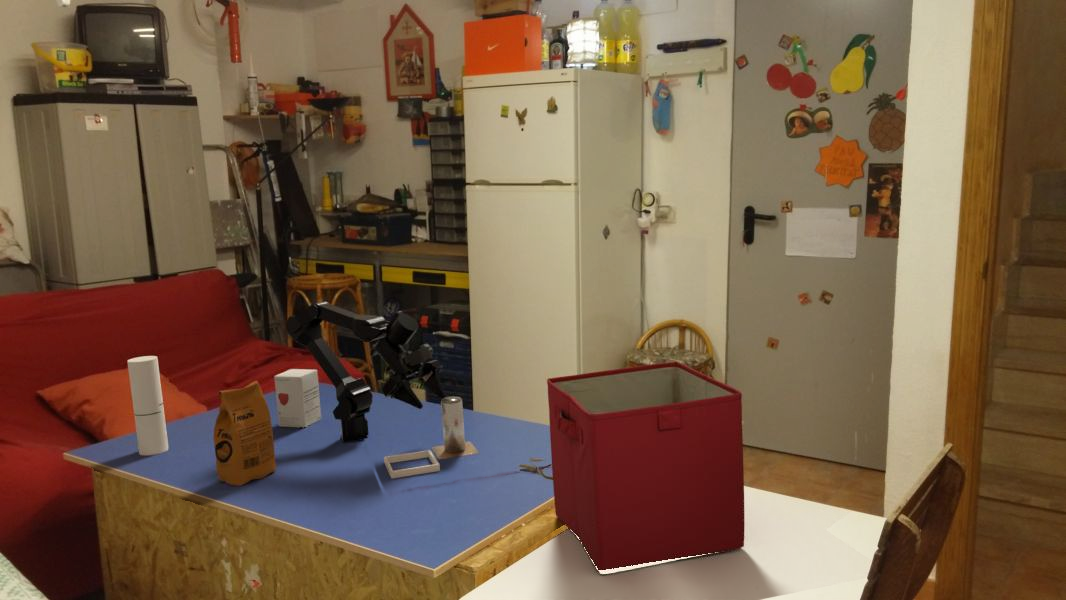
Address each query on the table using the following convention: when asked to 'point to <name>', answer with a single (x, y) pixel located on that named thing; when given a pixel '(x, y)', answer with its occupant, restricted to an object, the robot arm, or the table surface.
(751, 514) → the table surface
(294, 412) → the supplement box
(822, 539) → the table surface
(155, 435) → the cylindrical container
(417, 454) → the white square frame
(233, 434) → the coffee package
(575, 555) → the table surface
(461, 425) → the shiny metal canister
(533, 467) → the extension cord
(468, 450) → the walnut board
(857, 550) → the table surface
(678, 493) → the storage cube
